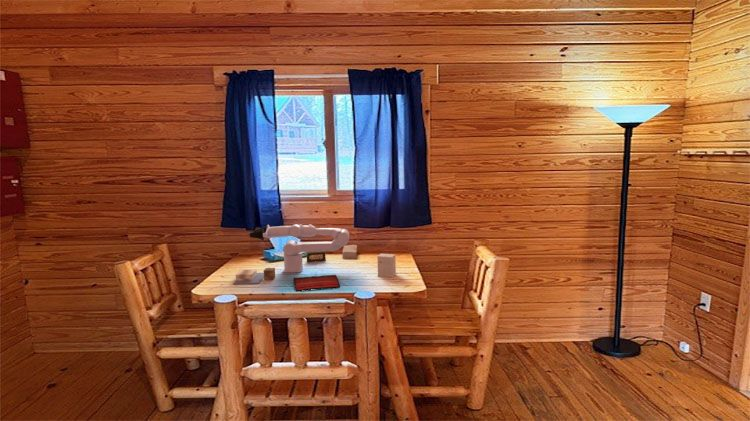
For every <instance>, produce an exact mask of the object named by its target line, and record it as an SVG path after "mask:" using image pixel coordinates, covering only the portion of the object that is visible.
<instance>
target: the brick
mask: <svg viewBox="0 0 750 421" xmlns="http://www.w3.org/2000/svg"><path fill="white" fill-rule="evenodd" d="M357 252H358V245H356V244H348V245H347V244H346V245H345V246H343V247H342V259H344V260H346V259H347V260H348V259H349V260H351V259H353V260H354V259H357V254H358V253H357Z"/></svg>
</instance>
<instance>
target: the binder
mask: <svg viewBox="0 0 750 421" xmlns="http://www.w3.org/2000/svg"><path fill="white" fill-rule="evenodd" d="M339 281H340V280H339V278H338V276H337V274H329V275H327V274H326V275H317V276H316V275H315V276H314V275H313V276H305V277H304V276H302V277H293V286H295V287H294V291H295V290H296V291H295V292H297V291H300V292H303V291H302V290H308V291H312V290H311V289H318V290H322V289H321V288H331V289H332V288H335V289H340V288H341V284H340V282H339Z"/></svg>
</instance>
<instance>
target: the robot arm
mask: <svg viewBox="0 0 750 421" xmlns="http://www.w3.org/2000/svg"><path fill="white" fill-rule="evenodd" d="M316 235H317V236H318V235H321V236H331V237H333V240H332V241H324V242H323V241H321V242H320V241H318V242H317V241H315V242H314V241H308V242H307V241H306V242H305V241H304V242H303V241H296V240H294V239H289V240H287V242H286V243H285V245H284V246H283V248H282V251H283V264H284V265H283V266H284V267H283V268H284V269H283V270H282V273H287V274H289V273H302V271H303V269H304V266H303V255H302V254H301V253H307V252H318V251H325V252H336V251H338V250H340V249H341V248H344V246H345V245H347V244H348V243H349V241H350V231H349V230H348V229H347V228H340V227H339V228H338V227H319V228H318V227H316V226H315V225H312V224H308V225H306V224H305V225H303V224H301V223H300V224H297V223H294V224H292V225H280V226H270V225H269V224H267V225H266V226H264V227H260V228H257V229H254V230H253V231H252V232H249V238H253V239H259V240H262V241H265V238H267V239H274V238H287V237H293V238H298V237H314V236H316Z"/></svg>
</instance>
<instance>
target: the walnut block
mask: <svg viewBox="0 0 750 421" xmlns="http://www.w3.org/2000/svg"><path fill="white" fill-rule="evenodd" d="M263 273H264V278H263V280H264V281H274V280H275V279H276V268H275V267H265V268H264V270H263Z"/></svg>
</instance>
